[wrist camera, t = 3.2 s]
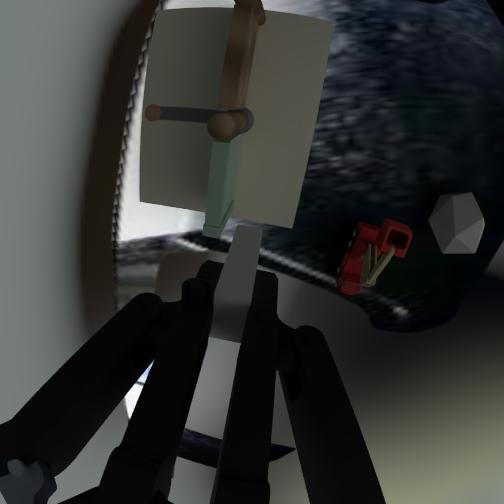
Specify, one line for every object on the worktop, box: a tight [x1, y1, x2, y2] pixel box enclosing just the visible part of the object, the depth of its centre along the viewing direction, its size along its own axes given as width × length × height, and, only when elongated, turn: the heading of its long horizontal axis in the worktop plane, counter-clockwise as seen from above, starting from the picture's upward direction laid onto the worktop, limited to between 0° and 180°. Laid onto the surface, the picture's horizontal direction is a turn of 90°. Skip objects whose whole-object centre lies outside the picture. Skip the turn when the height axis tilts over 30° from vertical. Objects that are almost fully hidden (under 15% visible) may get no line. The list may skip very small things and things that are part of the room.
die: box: [428, 193, 485, 253], centre depth 29 cm, size 8×9×10 cm
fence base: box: [207, 0, 266, 140], centre depth 23 cm, size 16×2×10 cm, turn 171°
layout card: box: [140, 7, 334, 228], centre depth 30 cm, size 28×22×1 cm
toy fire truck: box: [335, 218, 413, 295], centre depth 33 cm, size 3×14×10 cm, turn 168°
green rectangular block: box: [203, 133, 241, 238], centre depth 30 cm, size 10×2×8 cm, turn 171°
